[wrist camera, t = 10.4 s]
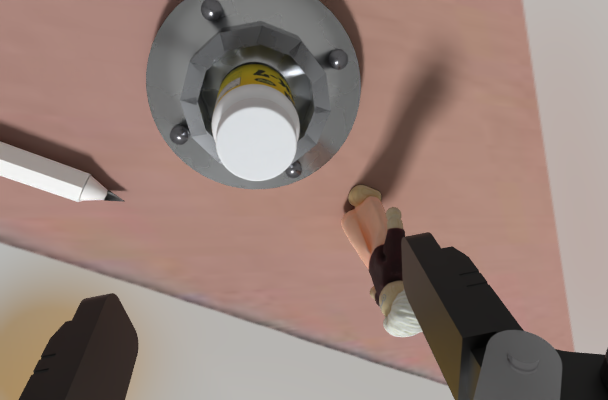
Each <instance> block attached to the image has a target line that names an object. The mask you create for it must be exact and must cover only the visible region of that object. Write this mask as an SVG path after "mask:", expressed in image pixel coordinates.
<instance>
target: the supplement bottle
mask: <svg viewBox="0 0 608 400" xmlns="http://www.w3.org/2000/svg"><path fill="white" fill-rule="evenodd" d="M212 133H213V137H214V140H215V143H216V150H217V153H218V156H219V158H220V160H221V162H222V163H223V165H224V166H225V167H226V168H227V169H228V170H229V171H230V172H231V173H233V174H234V175H236V176H238V177H240V178H242V179H246V180H250V181H264V180H268V179H272V178H274V177H276V176H278V175H280V174H281V173H282V172H284V171H285V170H286V169H287V168H288V167H289V166H290V164H291V163H292V161H293V159H294V157H295V154H296V149H297V141H298V138H299V133H300V122H299V117H298V113H297V109H296V106H295V103H294V100H293V97H292V93H291V90H290V87H289V85H288V82H287V81H286V79H285V78H284V76H283V75H282V74H281V73H280V72H279V71H278V70H277V69H275V68H274V67H272V66H270V65H268V64H265V63H261V62H246V63H242V64H240V65H237V66H236V67H234V68H233V69H231V70H230V71H229V72H228V73H227V74H226V76H225V77H224V79H223V80H222V83H221V85H220V88H219V92H218V96H217V100H216V104H215V108H214V112H213V116H212Z"/></svg>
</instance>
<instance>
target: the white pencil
mask: <svg viewBox="0 0 608 400" xmlns="http://www.w3.org/2000/svg"><path fill="white" fill-rule="evenodd" d="M0 176H3V177H6V178H9V179H12V180H15V181H18V182H21V183H23V184H26V185H29V186H32V187H35V188H38V189H41V190H44V191H47V192H50V193H53V194H56V195H59V196H62V197H65V198H68V199H71V200H74V201H77V202H80V201H81V200H108V201H124V200H122V199H121V198H119V197H118V196H116V195H115V194H113V193H112V192H111V191H109V190H107V189H106V188H105V187H104V186H102V185H101V184H100V183H99V182H98V181H97V180H96V179H94V178H93V177H92V176H91V174H89V173H86V172H84V171H81V170H78V169H75V168H73V167H70V166H67V165H64V164H62V163H59V162H56V161H53V160H50V159H48V158H45V157H42V156H39V155H37V154H34V153H31V152H28V151H26V150H23V149H20V148H17V147H15V146H12V145H9V144H6V143H3V142H1V141H0Z"/></svg>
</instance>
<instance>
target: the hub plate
mask: <svg viewBox="0 0 608 400" xmlns="http://www.w3.org/2000/svg"><path fill="white" fill-rule="evenodd" d="M246 62H261V63H265V64H268V65H270V66H272V67H274V68H275V69H277V70H278V71H279V72H280V73H281V74H282V75H283V76H284V78H285V79H286V81H287V82H288V85H289V87H290V90H291V93H292V97H293V100H294V103H295V106H296V109H297V113H298V117H299V122H300V133H299V138H298V141H297V149H296V154H295V157H294V159H293V161H292V163H291V164H290V166H289V167H288V168H287V169H286V170H285V171H284V172H282V173H281V174H280V175H278V176H276V177H274V178H272V179H268V180H264V181H250V180H246V179H242V178H240V177H238V176H236V175H234V174H233V173H231V172H230V171H229V170H228V169H227V168H226V167H225V166H224V165H223V163H222V162H221V160H220V158H219V156H218V153H217V150H216V143H215V140H214V137H213V133H212V116H213V112H214V108H215V104H216V100H217V96H218V92H219V88H220V85H221V83H222V80H223V79H224V77H225V76H226V74H227V73H228V72H229V71H230V70H231V69H233V68H234V67H236V66H237V65H240V64H242V63H246ZM146 89H147V96H148V102H149V106H150V109H151V113H152V116H153V119H154V121H155V123H156V126H157V128H158V130H159V131H160V133H161V135H162V137H163V138H164V140H165V141H166V143H167V144H168V145H169V147H170V148H171V149H172V150H173V152H174V153H175V154H176V155H177V156H178V157H179V158H180V159H181V160H182V161H183V162H185V163H186V164H187V165H188V166H190V167H191V168H192V169H194V170H195V171H197V172H198V173H200V174H202V175H203V176H205V177H207V178H209V179H211V180H214V181H216V182H219V183H222V184H225V185H228V186H232V187H237V188H244V189H269V188H276V187H280V186H284V185H288V184H291V183H294V182H296V181H299V180H301V179H303V178H305V177H307V176H309V175H311V174H312V173H314V172H315V171H317V170H318V169H320V168H321V167H322V166H323V165H324V164H326V163H327V162H328V161H329V160H330V159H331V158H332V157H333V156H334V155H335V154H336V152H337V151H338V150H339V149H340V147H341V146H342V144H343V143H344V142H345V140H346V138H347V136H348V135H349V133H350V131H351V129H352V126H353V124H354V121H355V118H356V115H357V111H358V107H359V101H360V92H361V81H360V71H359V64H358V60H357V57H356V53H355V50H354V48H353V45H352V43H351V41H350V38H349V36H348V35H347V33H346V31H345V30H344V28H343V26H342V25H341V23H340V22H339V21H338V19H337V18H336V17H335V16H334V14H333V13H332V12H331V11H330V10H329V9H328V8H327V7H326V6H325V5H324V4H322V3H321V2H320V1H319V0H184V1H182V2H181V3H180V4H179V5H178V6H177V7H176V8H175V9H174V10H173V11H172V12H171V13H170V15H169V16H168V17H167V18H166V20H165V21H164V23H163V24H162V26H161V27H160V29H159V31H158V33H157V35H156V37H155V39H154V42H153V44H152V47H151V51H150V54H149V58H148V64H147V72H146Z"/></svg>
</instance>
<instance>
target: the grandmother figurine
mask: <svg viewBox="0 0 608 400" xmlns="http://www.w3.org/2000/svg"><path fill="white" fill-rule="evenodd" d="M348 199H349V202H350V204H351V205H353V206H355V209H354V210H351V211H349V212H347V213H346V214H345V215H344V216H343V218H342V221H341V225H342V228H343V230H344V232H345V234H346V236H347V237H348V239H349V241H350V242H351V244H352V245H353V247H354V248H355V250H356V251H357V253H358V254H359V256H360V258H361V259H362V261H363V262H364V264H365V265H366V267H367V268H368V269H369V273H370V275H371V277H372V281H373V284H374V286H373V287H372V288H371V290H370V295H371V297H372V298H374V299H375V301H376V303H377V304H378V305H379V306H380V309H381V311H382V313H383V314H384V316H385V319H384V322H383V325H384V328H385V329H386V331H387V332H388V333H390V334H391V335H393V336H396V337H408V336H413V335H416V334H417V333H419V332H422V329H421V327H420V325H419V323H418V321H417V319H416V316H415V314H414V312H413V310H412V308H411V306H410V304H409V302H408V299H407V297H406V294H405V290H404V285H403V278H402V249H401V241H402V238H403V237H405V231H404V230H403V224H402V221H401V212H400V210H399V209H398V208H395V207H392V208H389V209H388V210H387V212H386V213H385V210H384V208H383V205H382V203H381V193H380V192H379V191H377V190H375V189H372V188H370V187H367V186H365V185H357V186H355V187H354V188H353V189H352V190H351V191H350V193H349V196H348Z"/></svg>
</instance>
